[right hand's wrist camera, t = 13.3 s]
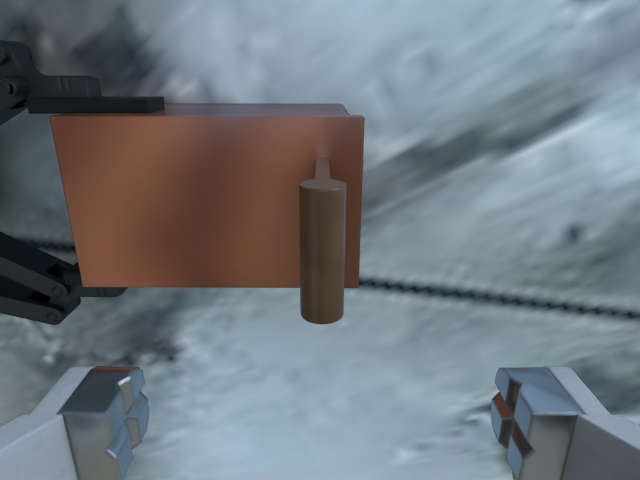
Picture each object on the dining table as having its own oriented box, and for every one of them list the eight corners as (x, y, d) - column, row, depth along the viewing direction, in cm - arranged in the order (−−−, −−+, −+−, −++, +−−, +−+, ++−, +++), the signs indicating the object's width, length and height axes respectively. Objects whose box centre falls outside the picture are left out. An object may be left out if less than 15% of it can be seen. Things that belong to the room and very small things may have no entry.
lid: (362, 115, 24) (382, 136, 16) (357, 281, 27) (371, 364, 19) (59, 114, 24) (-68, 134, 16) (90, 280, 27) (-2, 363, 19)
